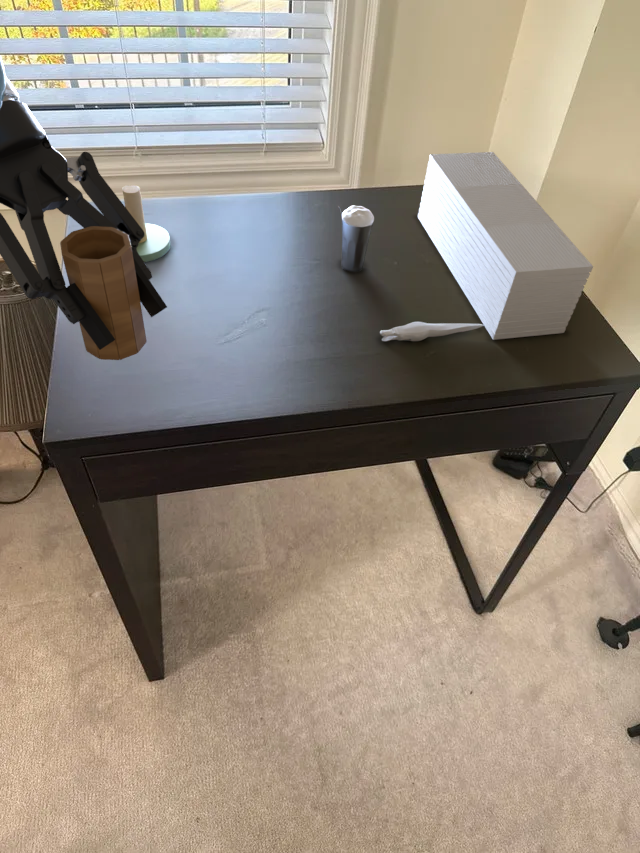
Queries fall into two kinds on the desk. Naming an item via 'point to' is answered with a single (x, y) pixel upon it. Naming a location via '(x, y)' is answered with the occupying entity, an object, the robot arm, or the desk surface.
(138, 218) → the holder
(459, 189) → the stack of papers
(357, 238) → the milkshake
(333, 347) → the desk surface
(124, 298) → the tube
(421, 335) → the white tapered spindle
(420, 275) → the desk surface
